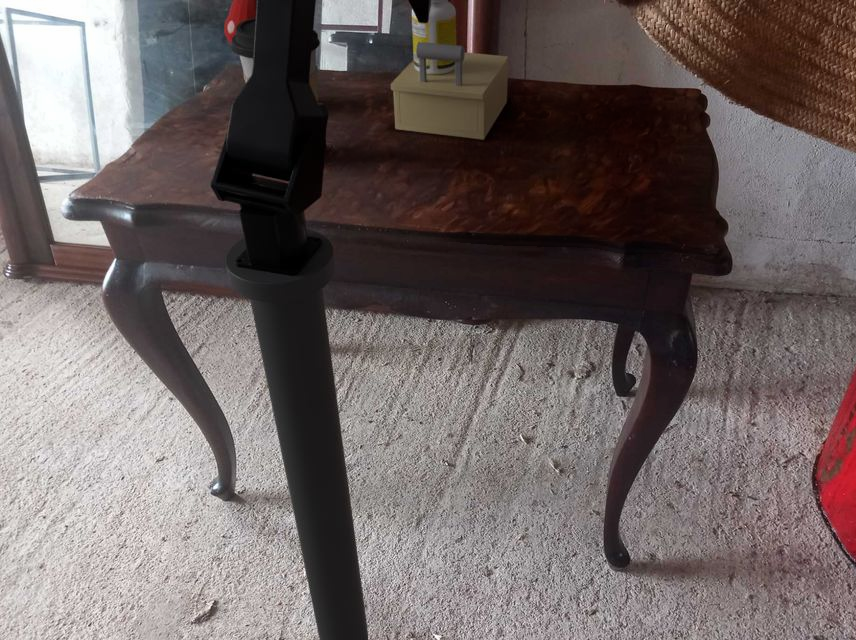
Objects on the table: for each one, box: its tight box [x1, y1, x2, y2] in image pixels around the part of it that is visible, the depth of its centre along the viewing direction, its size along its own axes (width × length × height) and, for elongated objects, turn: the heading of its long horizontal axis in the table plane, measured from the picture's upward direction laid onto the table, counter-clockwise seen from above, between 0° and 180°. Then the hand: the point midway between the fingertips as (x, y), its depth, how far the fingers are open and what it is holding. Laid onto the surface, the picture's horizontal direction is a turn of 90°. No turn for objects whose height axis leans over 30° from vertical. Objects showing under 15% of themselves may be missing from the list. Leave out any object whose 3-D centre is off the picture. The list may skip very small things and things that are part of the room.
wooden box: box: [392, 62, 509, 141], centre depth 102 cm, size 13×12×5 cm
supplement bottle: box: [411, 0, 457, 74], centre depth 97 cm, size 5×5×10 cm
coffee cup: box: [230, 17, 321, 103], centre depth 89 cm, size 9×9×15 cm
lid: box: [390, 42, 509, 100], centre depth 99 cm, size 13×12×5 cm
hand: (435, 11), depth 96 cm, fingers open, 9 cm apart
